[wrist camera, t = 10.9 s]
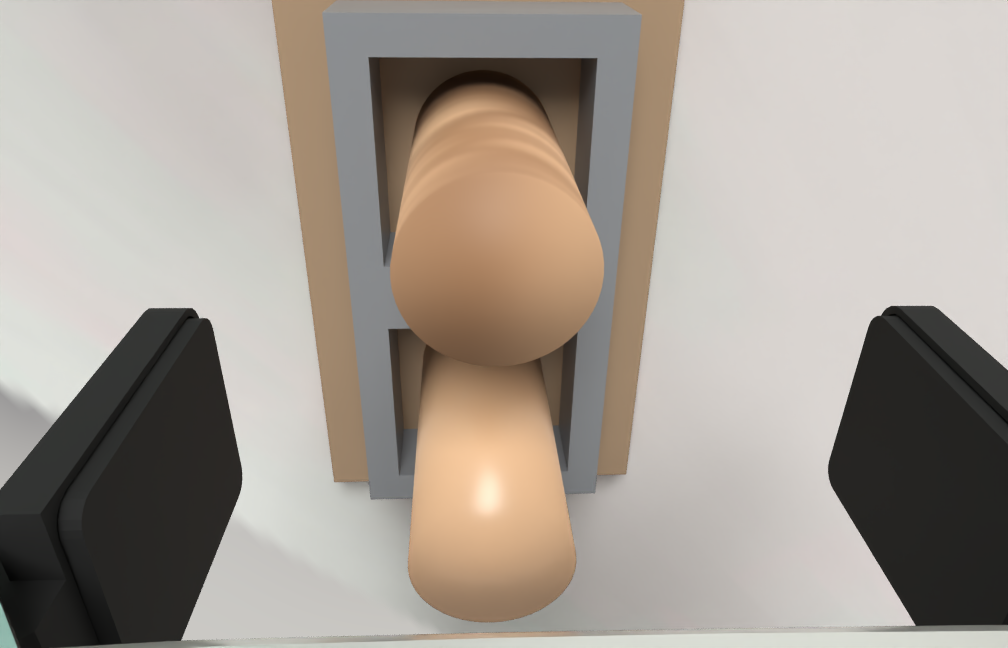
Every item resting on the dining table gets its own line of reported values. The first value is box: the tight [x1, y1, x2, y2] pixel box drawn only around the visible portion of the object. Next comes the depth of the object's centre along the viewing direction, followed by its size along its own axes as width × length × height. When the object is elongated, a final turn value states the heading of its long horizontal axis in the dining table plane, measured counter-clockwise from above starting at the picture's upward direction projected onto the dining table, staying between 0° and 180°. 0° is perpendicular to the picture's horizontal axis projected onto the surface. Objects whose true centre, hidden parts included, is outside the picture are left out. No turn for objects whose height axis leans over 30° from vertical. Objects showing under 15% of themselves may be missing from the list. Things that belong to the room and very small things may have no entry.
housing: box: [272, 0, 684, 622], centre depth 20 cm, size 11×18×10 cm, turn 179°
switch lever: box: [390, 70, 604, 367], centre depth 18 cm, size 4×4×9 cm
